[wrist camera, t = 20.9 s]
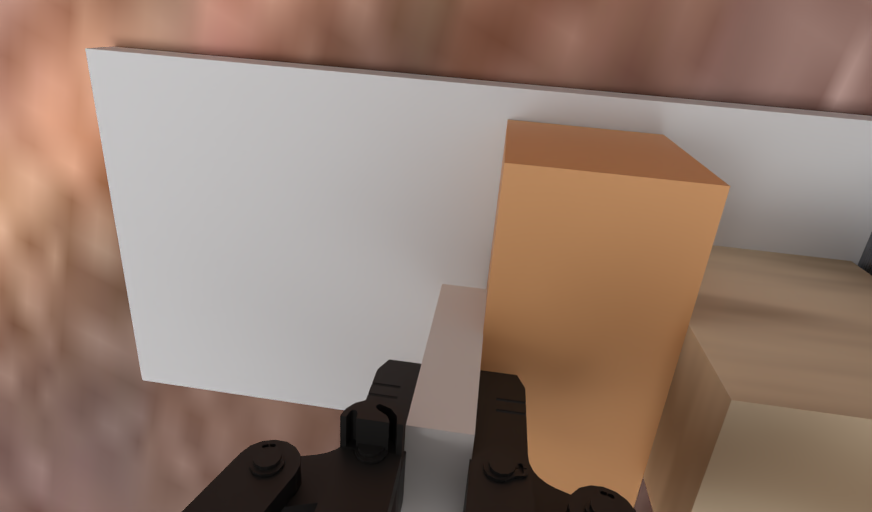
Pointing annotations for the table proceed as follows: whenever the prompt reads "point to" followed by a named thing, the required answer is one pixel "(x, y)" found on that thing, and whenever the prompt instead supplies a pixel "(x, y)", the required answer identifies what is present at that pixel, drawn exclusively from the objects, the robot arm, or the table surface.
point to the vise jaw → (595, 291)
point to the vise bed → (387, 203)
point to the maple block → (770, 390)
